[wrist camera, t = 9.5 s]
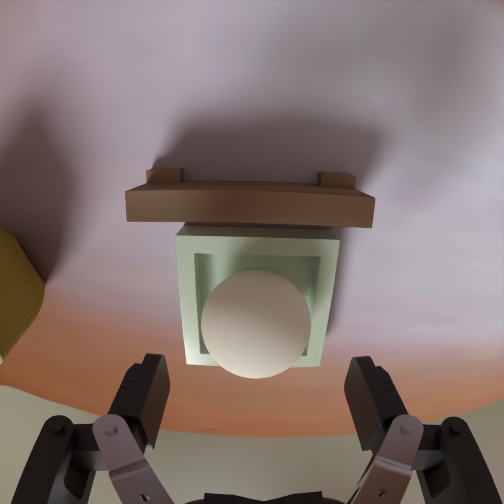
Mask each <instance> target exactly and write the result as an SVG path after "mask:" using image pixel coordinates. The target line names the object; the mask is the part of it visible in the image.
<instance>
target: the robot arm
mask: <svg viewBox="0 0 504 504" xmlns="http://www.w3.org/2000/svg"><path fill="white" fill-rule="evenodd" d="M169 390H170V379H169V374H168V369H167V364H166V359H165V356H164V355H161V354H151V353H147V354H146V355H145V357H144V360H143V362H142V364H137V363H135V364H134V365H133V366H132V367H130V368H129V369H128V370H127V372H126V374H125V376H124V378H123V381H122V383H121V385H120V388H119V389H118V392H117V394H116V396H115V398H114V400H113V403H112V405H111V407H110V410H109V412H108V414H107V415H103V416H101V417H99V418H98V419H97V420H96V421H95V422H94V423H93V424H73V423H72V421H71V420H70V419H69V418H67V417H66V416H62V415H57V416H53V417H51V418H49V419H48V420H47V421H46V422H45V424H44V425H43V427H42V429H41V432H40V434H39V436H38V438H37V440H36V442H35V445H34V447H33V449H32V451H31V454H30V456H29V458H28V461H27V463H26V466H25V468H24V470H23V473H22V475H21V478H20V480H19V483H18V486H17V488H16V491H15V494H14V496H13V499H12V502H11V504H87V503H88V499H89V495H90V492H91V488H92V484H93V480H94V477H95V473H96V471H106V470H107V471H108V470H109V477H110V479H111V482H112V484H113V486H114V488H115V490H116V492H117V494H118V496H119V498H120V500H121V502H122V504H174V502H173V501H172V499H171V498H170V496H169V495H168V493H167V492H166V490H165V489H164V487H163V486H162V484H161V483H160V481H159V480H158V478H157V476H156V475H155V473H154V472H153V470H152V468H151V467H150V465H149V463H148V462H147V460H146V459H145V457H144V452H145V450H151V451H153V450H154V447H155V442H156V439H157V435H158V431H159V428H160V424H161V420H162V417H163V413H164V409H165V406H166V402H167V398H168V395H169ZM344 392H345V396H346V399H347V402H348V405H349V409H350V412H351V415H352V418H353V421H354V424H355V428H356V431H357V434H358V438H359V440H360V444H361V448H362V451H366V450H372V453H373V455H372V457H371V459H370V461H369V463H368V464H367V466H366V468H365V470H364V472H363V474H362V475H361V477H360V479H359V481H358V482H357V484H356V486H355V487H354V489H353V491H352V492H351V494H350V495H349V497H348V498H347V499H346V501H345V502H344V503H343V502H340V501H338V500H334V499H331V498H324V497H323V496H322V491H319V492H309V493H298V494H291V495H288V496H284V497H280V498H277V499H272V500H268V501H259V500H254V499H249V498H245V497H241V496H236V495H227V494H211V493H205V494H204V499H200V500H196V501H191V502H188V503H185V504H400V503H401V500H402V498H403V496H404V493H405V491H406V489H407V486H408V484H409V481H410V479H411V476H412V473H413V470H416V473H417V476H418V479H419V482H420V486H421V489H422V493H423V496H424V500H425V503H426V504H502V501H501V499H500V496H499V493H498V491H497V488H496V486H495V483H494V481H493V479H492V476H491V474H490V472H489V469H488V467H487V465H486V462H485V460H484V458H483V456H482V453H481V451H480V449H479V447H478V445H477V443H476V441H475V439H474V437H473V435H472V433H471V431H470V429H469V427H468V425H467V423H466V422H465V421H464V420H463V419H461V418H458V417H448V418H446V419H445V420H444V421H443V422H442V424H441V425H426V424H422V422H421V421H420V420H419V419H418V418H417V417H415V416H412V415H409V414H408V412H407V410H406V408H405V406H404V404H403V402H402V400H401V398H400V396H399V394H398V392H397V390H396V388H395V386H394V384H393V383H392V380H391V378H390V376H389V374H388V372H386V371H385V370H384V369H383V368H382V367H381V366H376V367H375V365H374V363H373V361H372V359H371V357H370V356H362V357H353V358H352V360H351V363H350V366H349V369H348V373H347V376H346V379H345V384H344Z"/></svg>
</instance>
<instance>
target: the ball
mask: <svg viewBox="0 0 504 504" xmlns="http://www.w3.org/2000/svg"><path fill="white" fill-rule="evenodd" d="M201 331H202V337H203V340H204V343H205V346H206V348H207V350H208V351H209V353H210V354H211V356H212V357H213V359H214V360H215V361H216V362H217V363H218V364H219V365H221V366H222V367H223V368H224V369H226V370H227V371H229V372H231V373H233V374H236V375H239V376H242V377H246V378H266V377H270V376H273V375H276V374H279V373H281V372H283V371H284V370H286V369H288V368H289V367H290V366H292V365H293V364H294V363H295V362H296V361H297V360H298V359H299V357H300V356H301V355H302V353H303V351H304V350H305V348H306V346H307V343H308V341H309V337H310V333H311V316H310V311H309V307H308V305H307V302H306V300H305V298H304V296H303V295H302V293H301V292H300V291H299V290H298V288H297V287H296V286H295V285H294V284H293V283H292V282H290V281H289V280H288V279H286V278H285V277H283V276H281V275H279V274H276V273H273V272H270V271H265V270H247V271H242V272H239V273H236V274H234V275H231V276H230V277H228V278H226V279H225V280H223V281H222V282H221V283H219V284H218V285H217V286H216V287H215V289H214V290H213V291H212V292H211V294H210V295H209V297H208V299H207V301H206V303H205V305H204V308H203V312H202V318H201Z"/></svg>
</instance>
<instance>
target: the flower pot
mask: <svg viewBox="0 0 504 504" xmlns="http://www.w3.org/2000/svg"><path fill="white" fill-rule="evenodd" d="M44 290H45V285H44V282H43V280H42V279H41V277H40V276H39V275H38V273H37V272H36V270H35V269H34V267H33V266H32V264H31V262H30V261H29V259H28V258H27V256H26V254H25V253H24V251H23V250H22V248H21V246H20V244H19V243H18V241H17V239H16V238H15V237H14V236H13V235H11V234H10V233H8V232H6V231H4V230H1V229H0V364H1V363H2V362H3V360H4V359H5V358H6V356H7V355H8V354H9V352H10V351H11V350H12V348H13V347H14V346H15V344H16V343H17V342H18V340H19V339H20V338H21V336H22V335H23V334H24V333H25V331H26V330H27V329H28V327H29V326H30V325H31V324H32V322H33V321H34V319H35V318H36V316H37V314H38V312H39V310H40V308H41V305H42V302H43V298H44Z"/></svg>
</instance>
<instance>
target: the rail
mask: <svg viewBox="0 0 504 504" xmlns="http://www.w3.org/2000/svg"><path fill="white" fill-rule="evenodd" d="M146 176H147V183H146V184H143V185H140V186H138V187H135V188H133V189H130V190H128V191H125V199H126V215H127V222H226V223H265V224H295V225H320V226H341V227H361V228H372V223H373V214H374V206H375V198H374V197H372V196H370V195H367V194H365V193H363V192H361V191H358V190H356V189H354V187H355V176H354V175H349V174H338V173H326V172H319V184H303V183H283V182H257V181H183V168H175V169H150V170H146Z"/></svg>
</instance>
